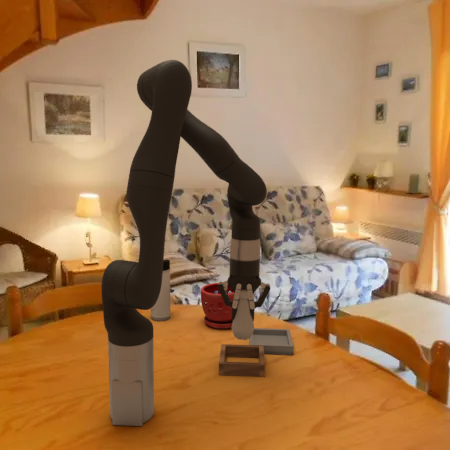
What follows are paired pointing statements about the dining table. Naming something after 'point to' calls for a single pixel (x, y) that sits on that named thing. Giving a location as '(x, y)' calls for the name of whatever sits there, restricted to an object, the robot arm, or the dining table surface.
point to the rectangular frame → (242, 367)
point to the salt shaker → (243, 318)
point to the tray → (273, 340)
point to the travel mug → (163, 296)
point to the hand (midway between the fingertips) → (243, 321)
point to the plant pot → (216, 306)
